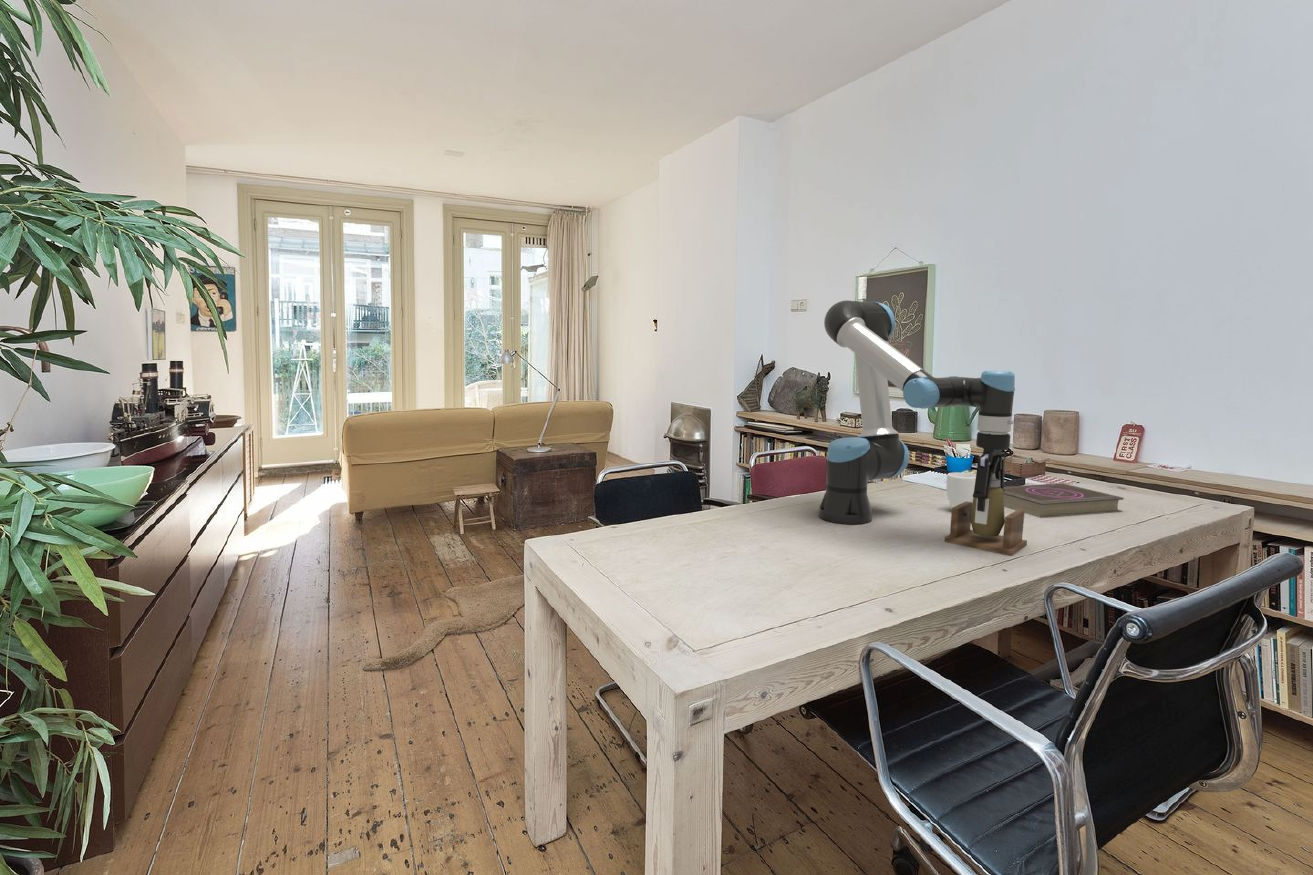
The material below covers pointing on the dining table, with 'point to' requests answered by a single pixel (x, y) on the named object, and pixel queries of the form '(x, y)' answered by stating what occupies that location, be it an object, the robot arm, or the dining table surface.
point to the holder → (999, 544)
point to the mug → (960, 488)
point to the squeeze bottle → (991, 511)
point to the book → (1059, 500)
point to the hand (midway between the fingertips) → (986, 519)
